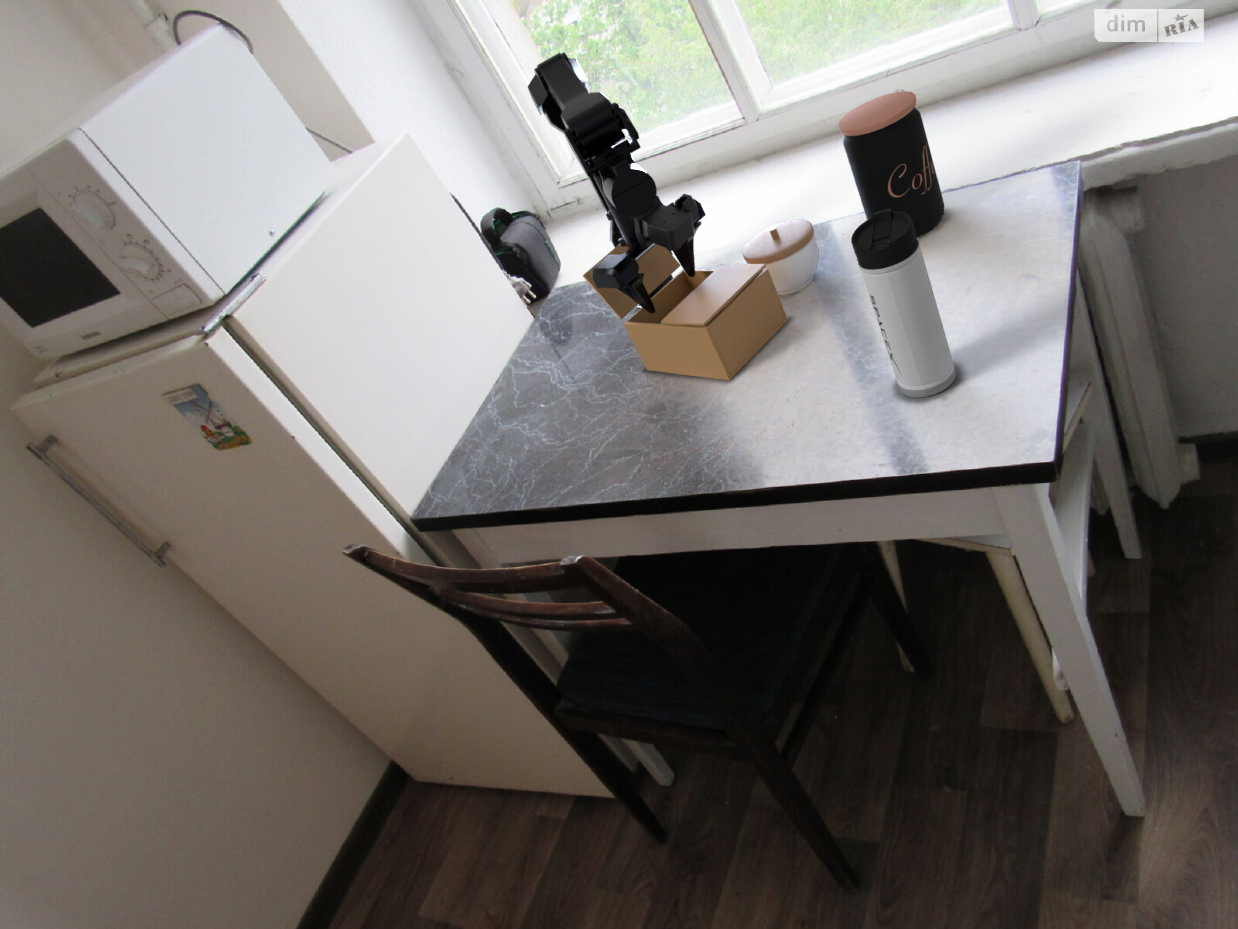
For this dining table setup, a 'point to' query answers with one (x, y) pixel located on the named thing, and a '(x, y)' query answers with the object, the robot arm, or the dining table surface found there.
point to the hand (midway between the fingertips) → (672, 294)
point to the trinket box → (786, 254)
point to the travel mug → (904, 303)
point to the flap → (652, 264)
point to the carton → (729, 341)
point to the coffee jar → (893, 159)
